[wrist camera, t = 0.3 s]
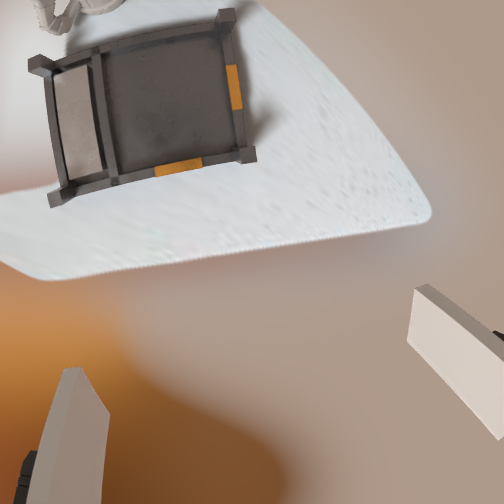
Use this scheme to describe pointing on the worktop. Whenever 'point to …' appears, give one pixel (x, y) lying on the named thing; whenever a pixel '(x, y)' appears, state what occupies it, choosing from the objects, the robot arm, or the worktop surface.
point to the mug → (69, 13)
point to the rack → (144, 107)
